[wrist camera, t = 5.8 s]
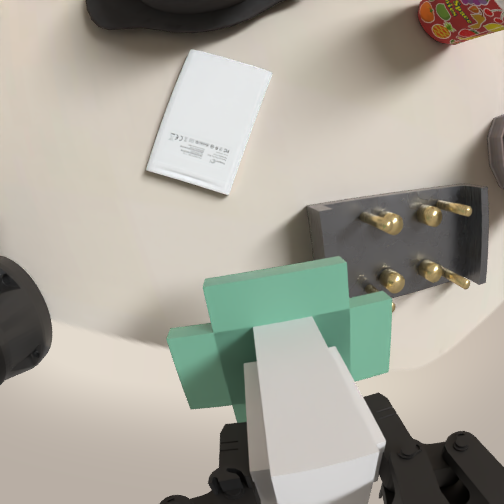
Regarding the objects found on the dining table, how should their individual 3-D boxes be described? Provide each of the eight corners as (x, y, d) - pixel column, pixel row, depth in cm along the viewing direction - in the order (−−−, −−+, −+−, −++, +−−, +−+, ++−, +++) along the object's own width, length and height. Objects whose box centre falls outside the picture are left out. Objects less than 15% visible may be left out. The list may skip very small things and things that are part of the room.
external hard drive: (271, 77, 27) (229, 194, 30) (191, 54, 26) (148, 170, 28) (273, 72, 25) (228, 195, 28) (189, 48, 24) (144, 170, 27)
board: (202, 423, 18) (190, 557, 8) (158, 286, 16) (77, 423, 6) (378, 390, 18) (445, 503, 9) (381, 248, 16) (518, 332, 6)
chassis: (319, 309, 32) (337, 339, 26) (306, 205, 30) (326, 214, 23) (463, 271, 33) (496, 288, 27) (462, 183, 30) (499, 188, 24)
